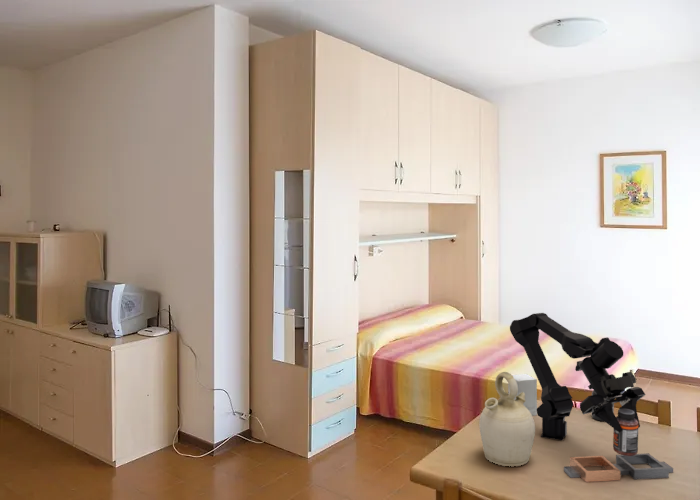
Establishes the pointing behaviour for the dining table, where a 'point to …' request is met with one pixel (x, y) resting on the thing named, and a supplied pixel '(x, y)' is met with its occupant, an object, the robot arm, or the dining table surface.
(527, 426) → the jug
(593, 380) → the robot arm
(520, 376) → the supplement box
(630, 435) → the supplement bottle
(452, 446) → the dining table surface
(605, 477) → the socket rail
